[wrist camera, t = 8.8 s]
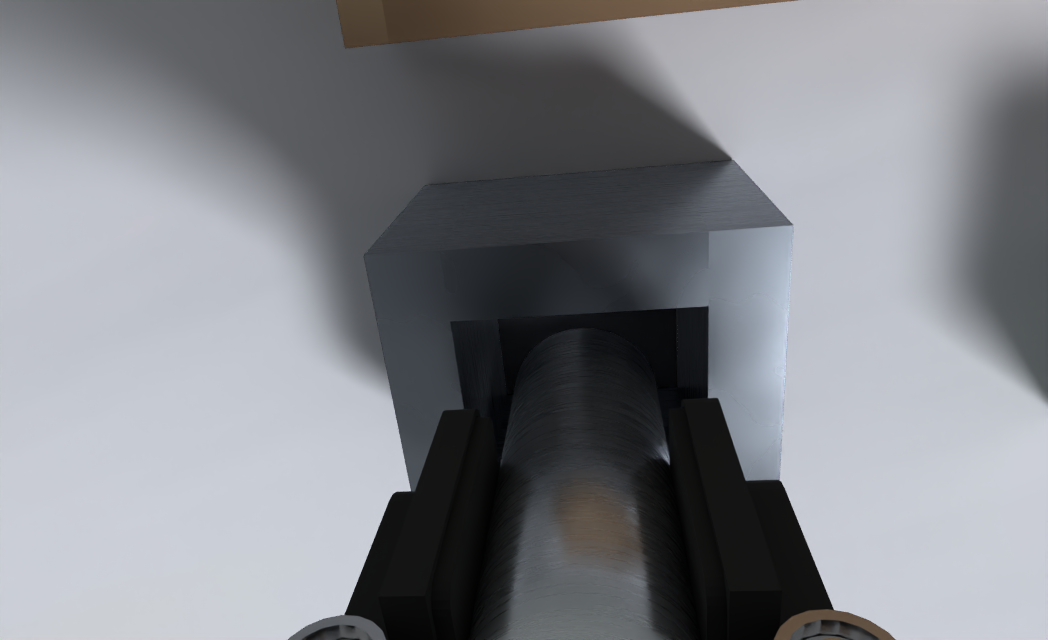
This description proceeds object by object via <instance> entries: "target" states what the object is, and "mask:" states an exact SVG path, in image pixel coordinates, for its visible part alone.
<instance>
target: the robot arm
mask: <svg viewBox="0 0 1048 640" xmlns="http://www.w3.org/2000/svg"><path fill="white" fill-rule="evenodd" d="M669 458H670V470H671V476H672V481H673V487H674V492H675V498H676V503H677V509H678V515H679V520H680V526H681V531H682V537H683V543H684V548H685V554H686V559H687V565H688V570H689V576H690V582H691V587H692V593H693V598H694V604H695V610H696V615H697V621H698V626H699V632H700V638H701V640H895V639H894V638H893V637H892V636H891V635H890V634H889V633H888V632H887V631H885V630H884V629H882V628H880V627H879V626H877V625H876V624H874V623H872V622H871V621H869V620H867V619H864V618H861V617H859V616H856V615H853V614H851V613H848V612H841V611H835V610H834V609H833V607H832V604H831V602H830V599H829V597H828V594H827V592H826V589H825V587H824V584H823V582H822V579H821V577H820V575H819V572H818V570H817V567H816V565H815V562H814V560H813V557H812V555H811V552H810V550H809V547H808V545H807V542H806V540H805V538H804V535H803V533H802V530H801V528H800V525H799V523H798V520H797V518H796V515H795V513H794V510H793V508H792V506H791V503H790V501H789V498H788V496H787V493H786V491H785V488H784V486H783V485H782V483H781V481H779V480H749V481H746V480H745V477H744V474H743V471H742V468H741V465H740V462H739V459H738V456H737V453H736V450H735V447H734V444H733V441H732V438H731V435H730V432H729V429H728V426H727V423H726V420H725V417H724V414H723V411H722V408H721V405H720V402H719V399H718V398H701V399H682V402H681V409H669ZM498 476H499V465H498V458H497V450H496V443H495V436H494V429H493V422H492V419H491V417H481V416H480V413H479V410H478V409H459V410H444V411H443V413H442V415H441V418H440V421H439V423H438V426H437V429H436V432H435V435H434V438H433V441H432V443H431V446H430V449H429V452H428V455H427V458H426V461H425V464H424V466H423V469H422V472H421V475H420V478H419V481H418V484H417V487H416V489H415V491H409V492H396V493H394V494H393V495H392V497H391V499H390V501H389V503H388V505H387V508H386V511H385V513H384V516H383V518H382V521H381V523H380V526H379V528H378V531H377V533H376V536H375V539H374V541H373V544H372V546H371V549H370V551H369V554H368V556H367V559H366V561H365V564H364V567H363V569H362V572H361V574H360V577H359V579H358V582H357V584H356V587H355V589H354V592H353V595H352V597H351V600H350V602H349V605H348V607H347V610H346V612H345V615H340V616H335V617H330V618H324V619H322V620H319V621H317V622H315V623H312V624H310V625H308V626H306V627H304V628H303V629H301V630H300V631H298V632H297V633H295V634H294V635H293V636H291V637H290V638H289V639H288V640H468V638H469V633H470V628H471V622H472V617H473V611H474V606H475V600H476V595H477V590H478V584H479V579H480V573H481V568H482V562H483V557H484V552H485V546H486V541H487V535H488V530H489V525H490V519H491V514H492V508H493V503H494V497H495V492H496V487H497V481H498Z"/></svg>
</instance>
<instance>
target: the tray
mask: <svg viewBox="0 0 1048 640" xmlns="http://www.w3.org/2000/svg"><path fill="white" fill-rule="evenodd" d="M787 1H796V0H336V3H337V8H338V14H339V19H340V24H341V29H342V35H343V40H344V45H345V48H353V47H363V46H372V45H381V44H391V43H400V42H410V41H419V40H428V39H438V38H447V37H457V36H466V35H476V34H485V33H494V32H504V31H513V30H523V29H532V28H542V27H551V26H560V25H570V24H579V23H589V22H598V21H608V20H617V19H626V18H636V17H645V16H655V15H664V14H673V13H683V12H692V11H702V10H711V9H721V8H730V7H739V6H749V5H758V4H768V3H777V2H787Z"/></svg>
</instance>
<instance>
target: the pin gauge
mask: <svg viewBox="0 0 1048 640" xmlns="http://www.w3.org/2000/svg"><path fill="white" fill-rule="evenodd" d="M468 640H701V638H700V632H699V626H698V621H697V615H696V610H695V604H694V598H693V593H692V587H691V582H690V576H689V570H688V565H687V559H686V554H685V548H684V543H683V537H682V531H681V526H680V520H679V515H678V509H677V503H676V498H675V492H674V487H673V481H672V476H671V470H670V458H669V453H668V447H667V442H666V436H665V431H664V425H663V420H662V414H661V409H660V403H659V398H658V392H657V387H656V381H655V377H654V373H653V371H652V368H651V366H650V364H649V362H648V361H647V359H646V357H645V356H644V355H643V354H642V352H641V351H640V350H639V349H638V348H637V347H636V346H634V345H633V344H632V343H631V342H629V341H628V340H626V339H625V338H623V337H621V336H619V335H617V334H614V333H611V332H609V331H605V330H601V329H593V328H577V329H570V330H566V331H562V332H559V333H556V334H554V335H551V336H550V337H548V338H546V339H544V340H543V341H541V342H540V343H538V344H537V345H536V346H535V347H534V348H533V349H532V350H531V351H530V352H529V353H528V355H527V356H526V357H525V359H524V360H523V362H522V364H521V366H520V368H519V371H518V374H517V378H516V383H515V389H514V394H513V399H512V405H511V410H510V416H509V421H508V426H507V432H506V437H505V443H504V448H503V454H502V459H501V464H500V470H499V476H498V481H497V487H496V492H495V497H494V503H493V508H492V514H491V519H490V525H489V530H488V535H487V541H486V546H485V552H484V557H483V562H482V568H481V573H480V579H479V584H478V590H477V595H476V600H475V606H474V611H473V617H472V622H471V628H470V633H469V638H468Z"/></svg>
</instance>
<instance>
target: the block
mask: <svg viewBox="0 0 1048 640" xmlns="http://www.w3.org/2000/svg"><path fill="white" fill-rule="evenodd" d="M792 243H793V224H792V223H791V222H790V221H789V220H788V219H787V218H786V217H785V216H784V214H783V213H782V212H781V211H780V210H779V209H778V208H777V207H776V206H775V205H774V204H773V202H772V201H771V200H770V199H769V198H768V197H767V196H766V195H765V194H764V193H763V192H762V190H761V189H760V188H759V187H758V186H757V185H756V184H755V183H754V182H753V181H752V179H751V178H750V177H749V176H748V175H747V174H746V173H745V172H744V171H743V170H742V169H741V167H740V166H739V165H738V164H737V163H736V162H735V161H734V160H728V161H716V162H704V163H692V164H679V165H667V166H655V167H643V168H631V169H618V170H606V171H594V172H582V173H570V174H557V175H545V176H533V177H521V178H509V179H497V180H484V181H472V182H460V183H448V184H436V185H425V186H424V187H423V188H422V190H421V191H420V192H419V193H418V194H417V195H416V196H415V198H414V199H413V200H412V201H411V202H410V203H409V204H408V206H407V207H406V208H405V209H404V210H403V211H402V213H401V214H400V215H399V216H398V217H397V218H396V219H395V221H394V222H393V223H392V224H391V225H390V226H389V227H388V229H387V230H386V231H385V232H384V233H383V234H382V235H381V237H380V238H379V239H378V240H377V241H376V242H375V243H374V245H373V246H372V247H371V248H370V249H369V250H368V252H367V253H366V254H365V255H364V260H365V265H366V270H367V275H368V280H369V285H370V290H371V295H372V300H373V305H374V309H375V314H376V319H377V324H378V329H379V334H380V339H381V344H382V349H383V354H384V359H385V364H386V369H387V374H388V379H389V384H390V389H391V394H392V399H393V404H394V409H395V414H396V419H397V423H398V428H399V433H400V438H401V443H402V448H403V453H404V458H405V463H406V468H407V473H408V478H409V483H410V488H411V491H415V489H416V487H417V484H418V481H419V478H420V475H421V472H422V469H423V466H424V464H425V461H426V458H427V455H428V452H429V449H430V446H431V443H432V441H433V438H434V435H435V432H436V429H437V426H438V423H439V421H440V418H441V415H442V413H443V411H444V410H459V409H478V410H479V413H480V416H481V417H491V419H492V422H493V429H494V436H495V443H496V450H497V458H498V465H499V470H500V464H501V459H502V454H503V448H504V443H505V437H506V432H507V426H508V421H509V416H510V410H511V405H512V399H513V395H507V389H506V381H505V374H504V366H503V358H502V350H501V342H500V334H499V326H498V319H501V318H518V317H535V316H552V315H568V314H585V313H602V312H619V311H636V310H653V309H670V308H676V331H677V387H673V388H657V392H658V398H659V403H660V409H661V414H662V420H663V425H664V431H665V436H666V442H667V447H668V453H669V409H681V402H682V399H701V398H718V399H719V402H720V405H721V408H722V411H723V414H724V417H725V420H726V423H727V426H728V429H729V432H730V435H731V438H732V441H733V444H734V447H735V450H736V453H737V456H738V459H739V462H740V465H741V468H742V471H743V474H744V477H745V480H746V481H749V480H779V479H780V461H781V443H782V425H783V406H784V388H785V370H786V352H787V334H788V316H789V297H790V279H791V261H792Z"/></svg>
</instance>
